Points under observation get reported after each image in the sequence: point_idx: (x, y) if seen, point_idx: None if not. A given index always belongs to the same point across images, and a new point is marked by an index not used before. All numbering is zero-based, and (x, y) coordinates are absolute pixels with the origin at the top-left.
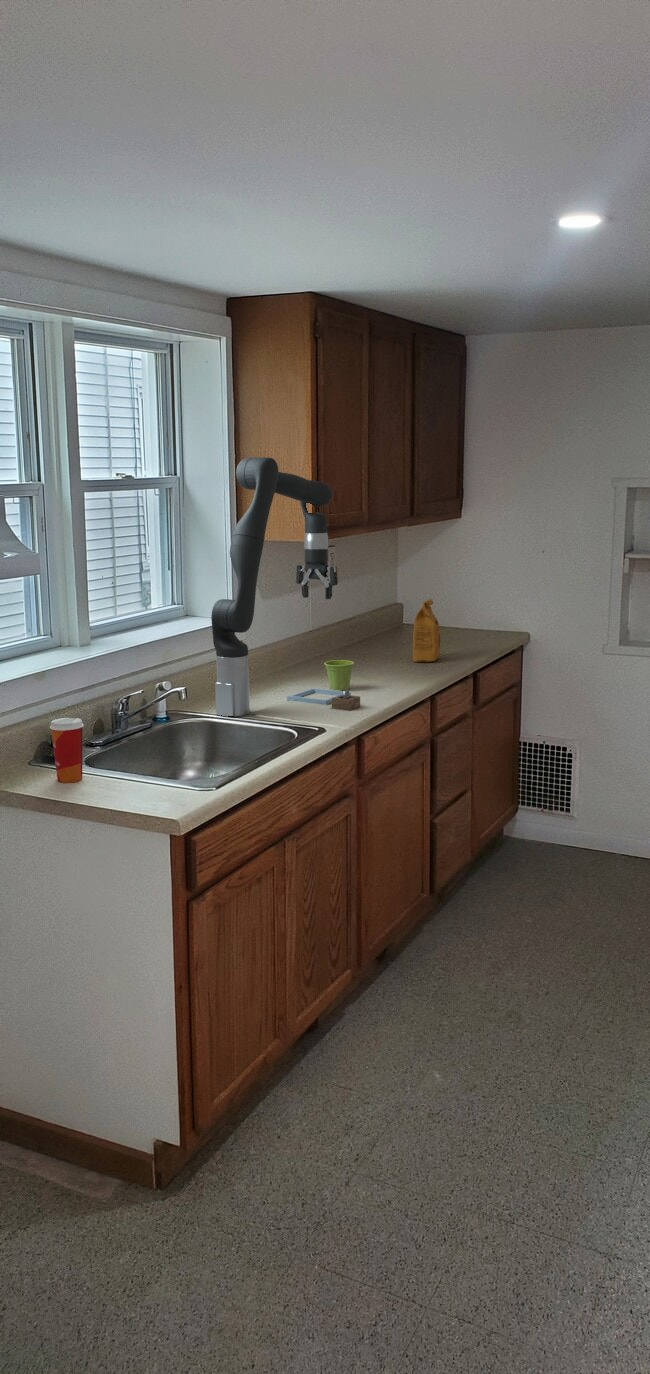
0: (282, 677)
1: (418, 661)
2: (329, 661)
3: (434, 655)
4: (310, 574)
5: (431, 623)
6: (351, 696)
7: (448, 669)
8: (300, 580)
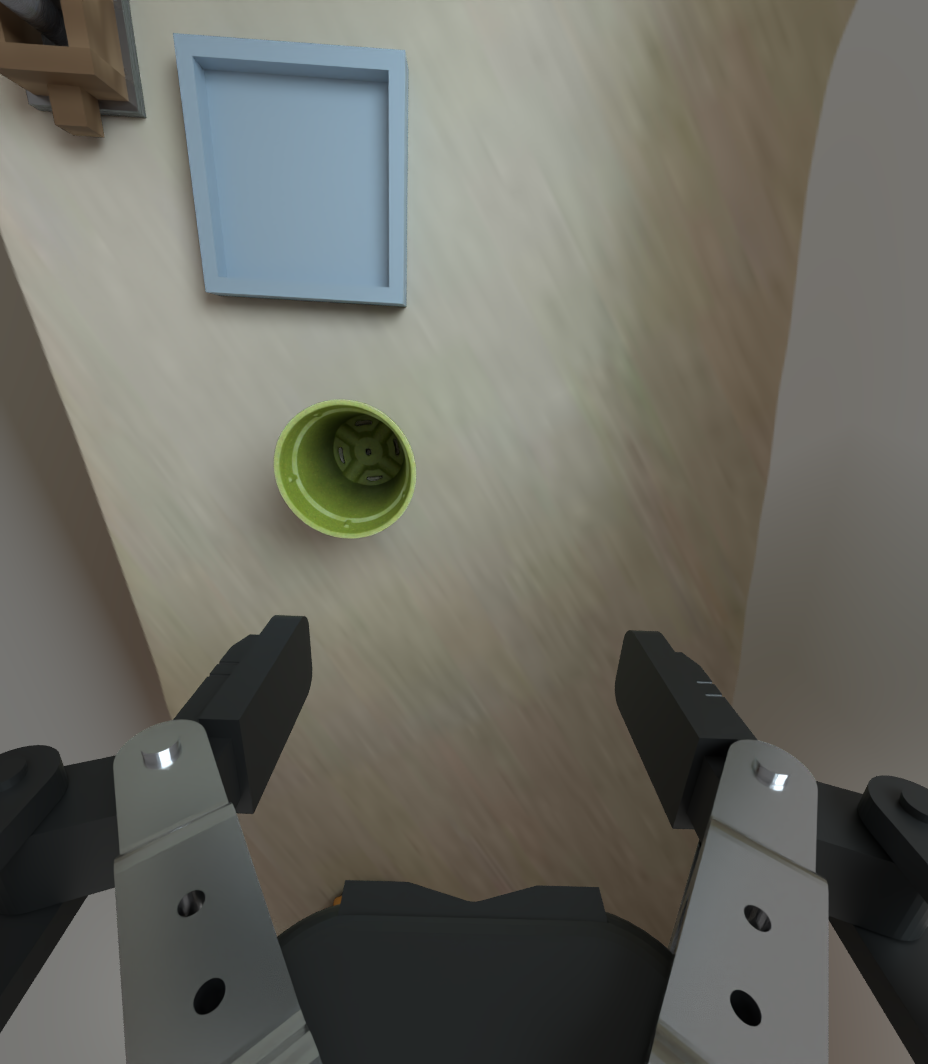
0: (674, 547)
1: None
2: (409, 489)
3: None
4: (649, 1051)
5: None
6: (23, 43)
7: (250, 841)
8: (884, 868)
